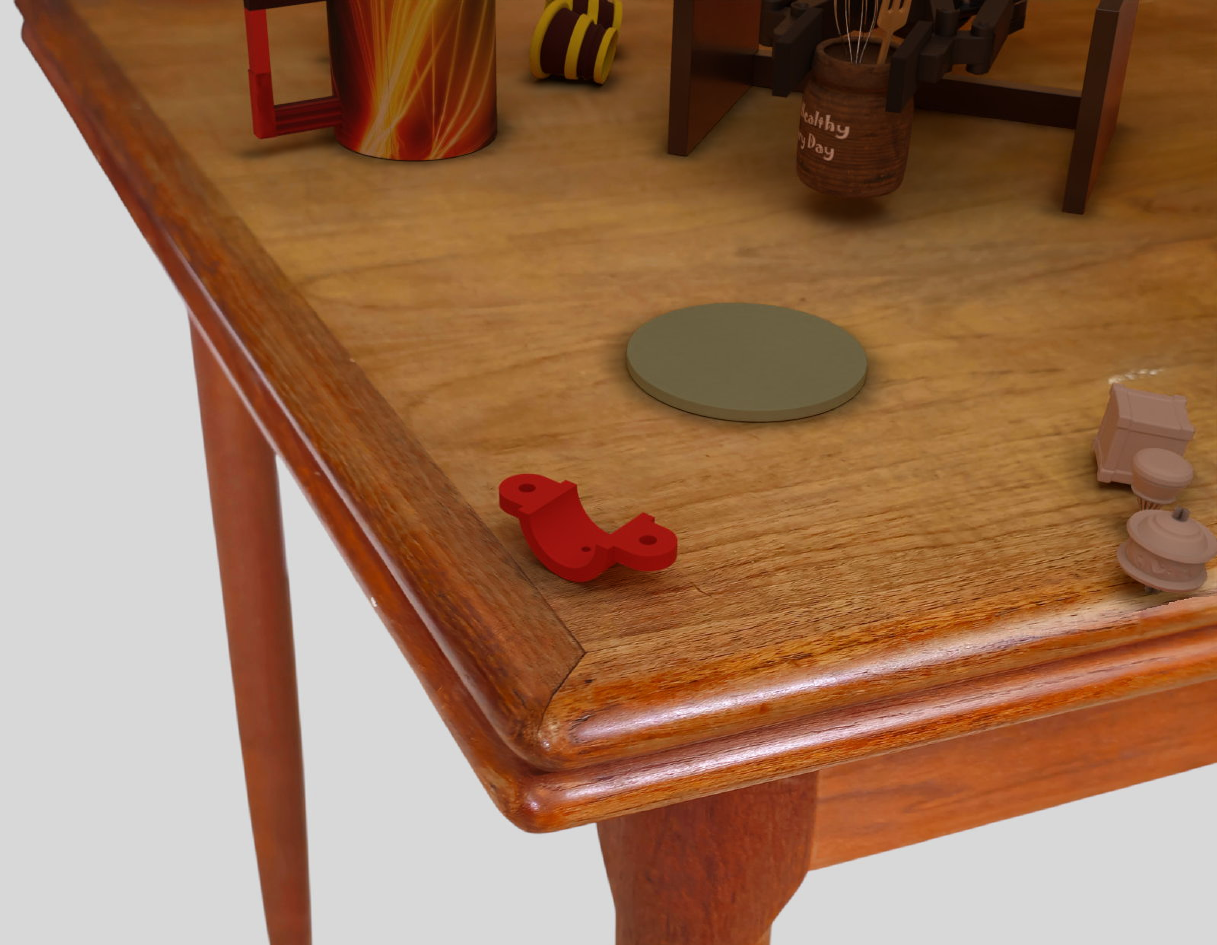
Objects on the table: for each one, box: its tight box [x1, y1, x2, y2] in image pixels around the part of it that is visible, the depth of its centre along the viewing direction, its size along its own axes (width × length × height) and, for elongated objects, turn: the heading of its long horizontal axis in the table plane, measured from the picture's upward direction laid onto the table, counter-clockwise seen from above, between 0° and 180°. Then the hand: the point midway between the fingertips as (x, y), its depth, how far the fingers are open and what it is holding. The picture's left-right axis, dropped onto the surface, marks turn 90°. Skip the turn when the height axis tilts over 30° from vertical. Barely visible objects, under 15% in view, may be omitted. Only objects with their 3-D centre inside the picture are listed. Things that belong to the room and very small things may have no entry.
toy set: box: [1091, 382, 1217, 595], centre depth 71 cm, size 12×3×4 cm, turn 172°
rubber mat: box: [625, 302, 868, 423], centre depth 83 cm, size 11×11×1 cm
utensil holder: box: [795, 0, 915, 199], centre depth 94 cm, size 6×6×12 cm
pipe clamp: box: [498, 473, 678, 583], centre depth 68 cm, size 8×3×2 cm, turn 51°
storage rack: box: [666, 0, 1140, 215], centre depth 105 cm, size 15×24×11 cm, turn 70°
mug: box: [243, 0, 498, 161], centre depth 103 cm, size 10×14×12 cm
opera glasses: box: [528, 0, 624, 85], centre depth 117 cm, size 10×5×5 cm, turn 176°
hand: (838, 77), depth 89 cm, fingers closed on utensil holder, 5 cm apart
